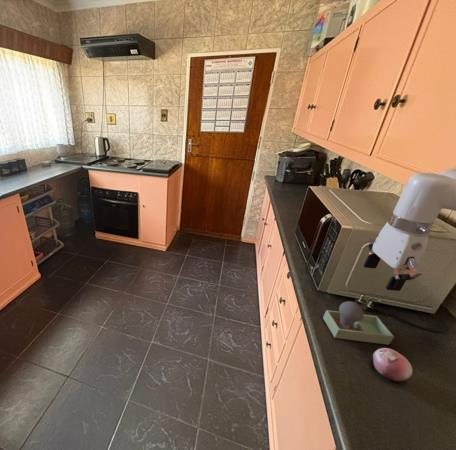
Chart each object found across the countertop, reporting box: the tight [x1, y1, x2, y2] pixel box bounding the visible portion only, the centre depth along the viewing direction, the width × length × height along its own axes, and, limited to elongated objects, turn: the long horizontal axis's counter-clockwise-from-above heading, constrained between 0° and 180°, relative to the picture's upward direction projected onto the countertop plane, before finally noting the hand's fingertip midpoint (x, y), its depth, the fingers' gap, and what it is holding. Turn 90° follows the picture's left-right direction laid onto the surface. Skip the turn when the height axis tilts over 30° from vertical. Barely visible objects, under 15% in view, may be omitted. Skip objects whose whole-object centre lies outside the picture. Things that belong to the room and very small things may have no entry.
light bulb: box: [338, 300, 365, 330], centre depth 77 cm, size 6×6×10 cm
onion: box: [372, 347, 413, 382], centre depth 66 cm, size 8×8×7 cm
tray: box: [322, 309, 395, 346], centre depth 78 cm, size 16×8×4 cm, turn 82°
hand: (380, 277), depth 69 cm, fingers open, 9 cm apart
